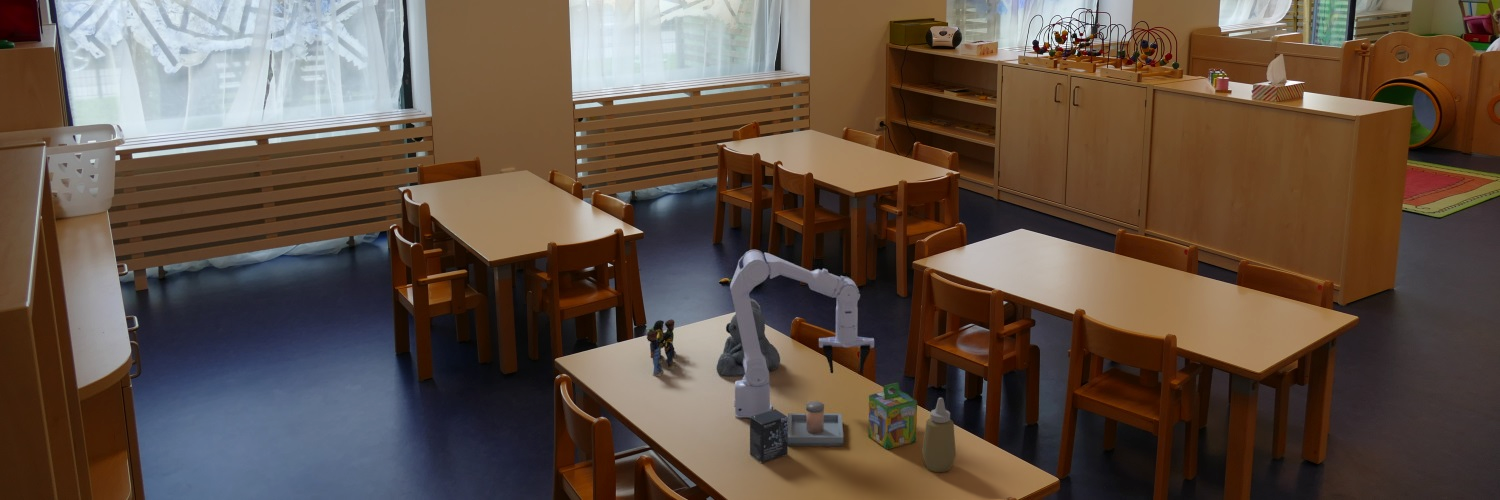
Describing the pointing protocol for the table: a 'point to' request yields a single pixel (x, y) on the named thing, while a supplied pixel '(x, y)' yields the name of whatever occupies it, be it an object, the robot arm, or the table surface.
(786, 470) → the table surface
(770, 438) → the box
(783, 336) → the table surface
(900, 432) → the chalk box
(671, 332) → the doll family
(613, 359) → the table surface
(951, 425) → the squeeze bottle
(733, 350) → the koala plush
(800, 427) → the tray
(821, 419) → the shaker
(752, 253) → the robot arm
